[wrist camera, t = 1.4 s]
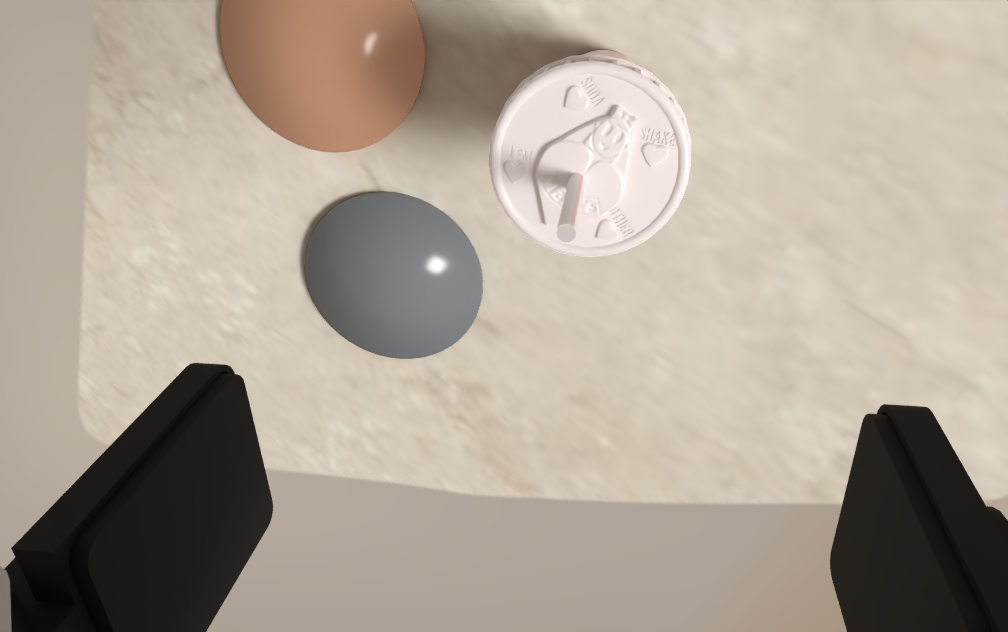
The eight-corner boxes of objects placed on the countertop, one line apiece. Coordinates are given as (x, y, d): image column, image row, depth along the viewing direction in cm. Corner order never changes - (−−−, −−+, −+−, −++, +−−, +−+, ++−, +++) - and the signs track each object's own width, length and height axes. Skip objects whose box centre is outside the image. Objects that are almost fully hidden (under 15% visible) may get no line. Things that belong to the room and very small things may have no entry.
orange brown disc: (208, -66, 31) (198, -65, 31) (417, -73, 30) (412, -72, 29) (250, 146, 36) (242, 151, 35) (434, 148, 34) (430, 153, 34)
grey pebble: (296, 187, 36) (290, 193, 36) (479, 191, 35) (476, 197, 34) (324, 346, 41) (319, 354, 40) (488, 354, 40) (485, 363, 39)
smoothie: (497, 115, 33) (416, 243, 21) (581, -20, 30) (543, 39, 18) (617, 195, 34) (606, 362, 22) (711, 73, 31) (759, 188, 19)
